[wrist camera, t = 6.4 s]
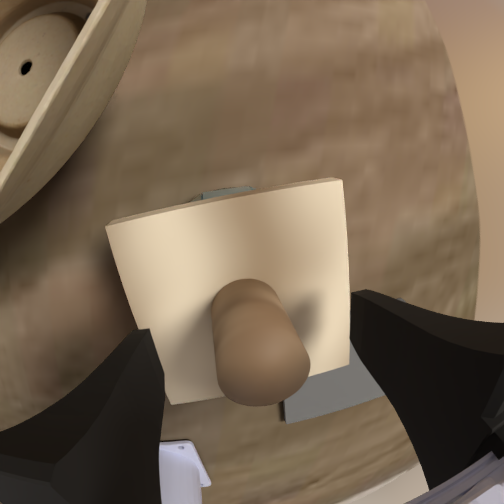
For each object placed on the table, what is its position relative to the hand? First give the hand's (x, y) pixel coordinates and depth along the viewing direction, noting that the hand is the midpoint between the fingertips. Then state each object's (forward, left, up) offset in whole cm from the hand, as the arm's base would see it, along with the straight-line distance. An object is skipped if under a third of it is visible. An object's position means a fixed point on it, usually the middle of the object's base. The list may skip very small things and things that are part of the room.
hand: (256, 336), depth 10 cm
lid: (0, 0, -3) cm, 3 cm away
